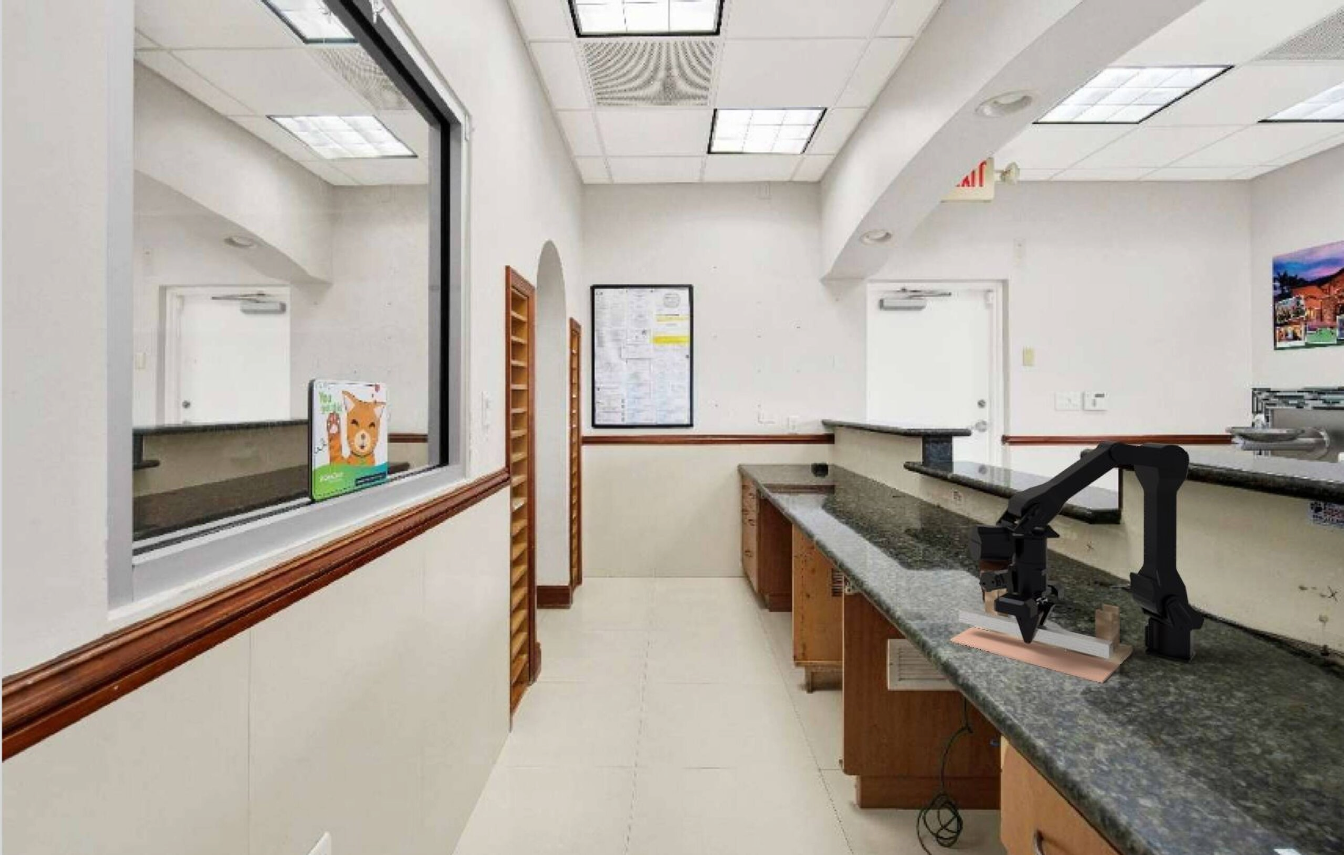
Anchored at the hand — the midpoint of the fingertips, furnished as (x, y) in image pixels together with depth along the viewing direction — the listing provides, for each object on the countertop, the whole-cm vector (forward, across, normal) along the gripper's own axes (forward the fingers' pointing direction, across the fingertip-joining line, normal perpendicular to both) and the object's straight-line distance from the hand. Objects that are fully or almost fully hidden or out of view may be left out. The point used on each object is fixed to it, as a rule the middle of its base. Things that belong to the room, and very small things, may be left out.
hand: (1030, 641), depth 118 cm
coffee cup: (+2, -26, -16) cm, 31 cm away
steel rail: (-1, 0, 0) cm, 1 cm away
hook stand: (+2, -10, 0) cm, 10 cm away
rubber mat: (+2, 0, 0) cm, 2 cm away
